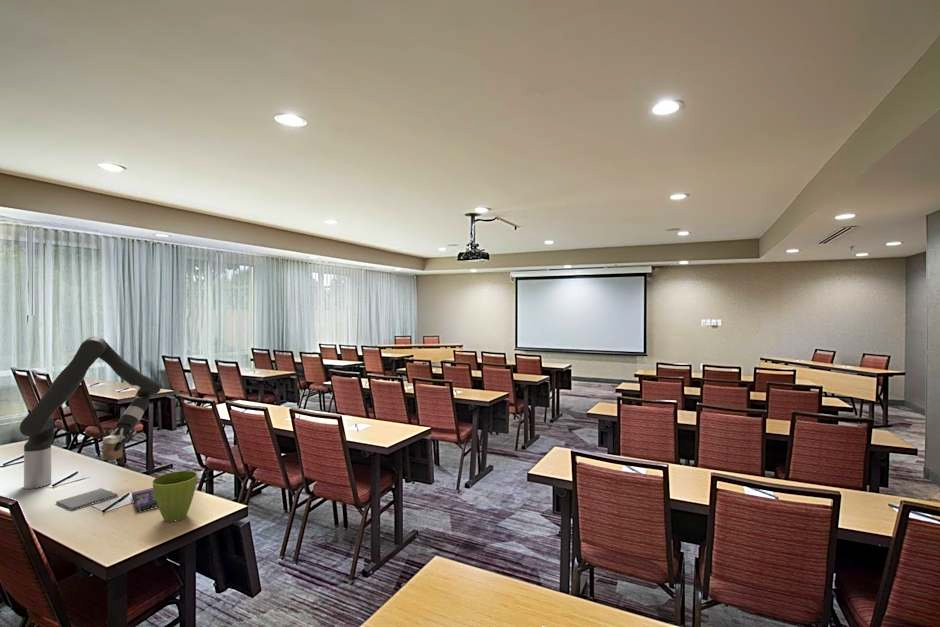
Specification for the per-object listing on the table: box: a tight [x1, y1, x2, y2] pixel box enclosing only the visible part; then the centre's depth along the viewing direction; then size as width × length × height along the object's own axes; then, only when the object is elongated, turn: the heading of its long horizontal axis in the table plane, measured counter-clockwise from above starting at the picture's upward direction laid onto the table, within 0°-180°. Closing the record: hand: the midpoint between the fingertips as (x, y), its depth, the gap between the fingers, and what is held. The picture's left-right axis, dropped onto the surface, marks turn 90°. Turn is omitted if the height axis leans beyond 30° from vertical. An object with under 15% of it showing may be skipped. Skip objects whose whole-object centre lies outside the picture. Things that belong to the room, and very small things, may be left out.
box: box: [131, 487, 158, 513], centre depth 193 cm, size 14×4×20 cm
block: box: [102, 435, 124, 461], centre depth 207 cm, size 5×5×10 cm
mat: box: [55, 487, 118, 511], centre depth 193 cm, size 14×16×1 cm
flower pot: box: [152, 470, 199, 522], centre depth 177 cm, size 15×15×16 cm
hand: (109, 450), depth 205 cm, fingers closed on block, 5 cm apart
